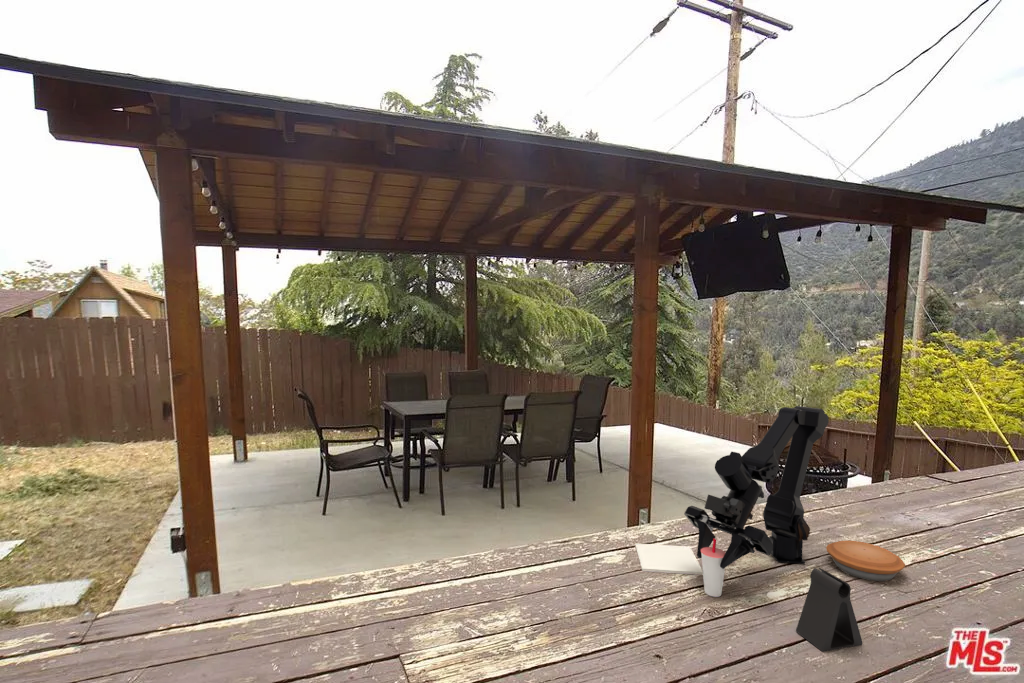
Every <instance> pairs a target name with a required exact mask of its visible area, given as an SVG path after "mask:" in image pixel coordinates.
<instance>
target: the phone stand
mask: <svg viewBox="0 0 1024 683" xmlns="http://www.w3.org/2000/svg"><path fill="white" fill-rule="evenodd" d="M809 583H810V584H809V588H808V591H807V594H806V598H805V601H804V604H803V608H802V610H801V614H800V617H799V620H798V623H797V625H796V629H795V632H796V633H798V634H799V635H800V636H801V637H802V638H804V639H806V640H807V641H808V642H809V643H811V644H812V645H814V647H816V648H817V649H818V650H820V652H823V653H824V652H830V651H836V650H842V649H848V648H852V647H853V648H855V647H859V646H862V645H863V644H864V643H863V640H862V635H861V632H860V629H859V625H858V622H857V618H856V614H855V611H854V608H853V604H852V600H851V592H852V590H851V589H852V588H851V585H850V584H849V583H848V582H846V581H844V580H843V579H841V578H839V577H837V576H835V575H834V574H832V573H830V572H829V571H826V569H823V568H821V567H818V568H816V567H813V569H812V570H811V571H810V582H809Z"/></svg>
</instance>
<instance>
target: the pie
mask: <svg viewBox="0 0 1024 683" xmlns="http://www.w3.org/2000/svg"><path fill="white" fill-rule="evenodd" d="M825 549H826V552H827V554H828V555H830V557H831V558H832V560H833V562H834V564H835V566H836V567H837V568H838V567H839V568H838V569H839V570H840V571H842V570H843V573H845V574H848V575H851V577H852V576H853V577H855V578H858V579H862V578H863V580H866V579H867V580H868V581H872V580H874V581H873V582H887V581H886V580H888V581H890V580H892V579H893V578H895V577H896V576H897V574H898V573H899V572H902V570H903V569H904V568H905V567H906V563H905V561H904V560H903V559H902V558H901V557H900V556H899V555H897V554H895V553H893V552H891V551H890V550H888V549H886V548H883V547H881V546H880V545H879V546H878V545H876V544H872V543H869V542H868V543H867V542H863V541H857V540H838V541H835V542H830V543H828V544H827V545H826V547H825Z"/></svg>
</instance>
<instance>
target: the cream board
mask: <svg viewBox="0 0 1024 683" xmlns="http://www.w3.org/2000/svg"><path fill="white" fill-rule="evenodd" d="M634 546H635V550H636V554H637V557H638V561H639V564H640V568H641V571H642V572H653V573H666V574H667V573H668V574H669V573H670V574H681V575H682V574H683V575H701V576H703V567H702V565H701V564H700V562H699V561H698V559H697V556H696V555H695V553H694V552H693V550H692V547H691V546H689V545H688V546H685V545H670V544H651V543H650V544H649V543H636V542H635V544H634Z"/></svg>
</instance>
